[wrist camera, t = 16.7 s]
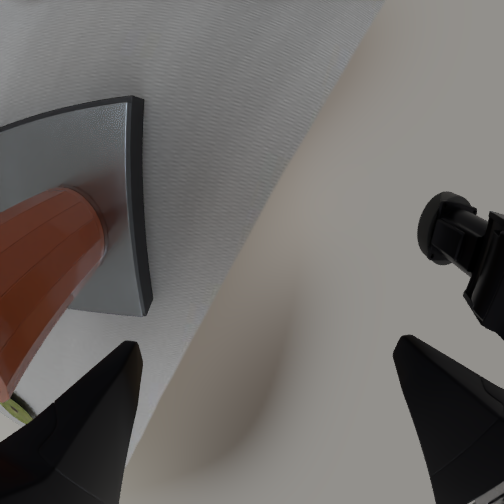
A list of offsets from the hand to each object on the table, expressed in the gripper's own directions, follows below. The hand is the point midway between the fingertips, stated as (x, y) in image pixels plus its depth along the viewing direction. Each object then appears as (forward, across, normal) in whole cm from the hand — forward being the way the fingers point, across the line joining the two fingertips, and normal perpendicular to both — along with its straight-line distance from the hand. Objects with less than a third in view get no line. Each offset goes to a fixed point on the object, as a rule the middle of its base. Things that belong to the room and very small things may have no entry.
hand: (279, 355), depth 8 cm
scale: (+13, +30, -1) cm, 33 cm away
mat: (+13, +45, +37) cm, 60 cm away
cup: (+10, +14, 0) cm, 17 cm away
